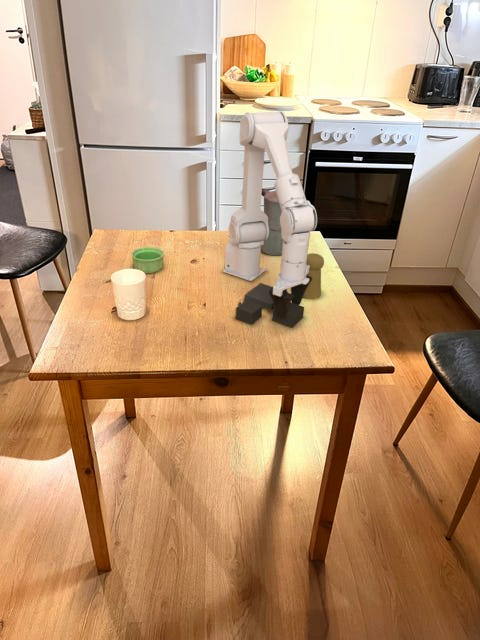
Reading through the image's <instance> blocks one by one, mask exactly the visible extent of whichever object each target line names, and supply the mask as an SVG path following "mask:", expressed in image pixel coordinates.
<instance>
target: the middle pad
mask: <svg viewBox="0 0 480 640" xmlns="http://www.w3.org/2000/svg"><path fill="white" fill-rule="evenodd" d="M304 312H305V306H303V305H301V304H300V305H297V304H294V303H292V302H290V304H289V307H288V312H287V315H286V317H285V318H284V319H283V318H280V317H278V316H277V315H276V310H275V308H274V309H273V310H272V312H271V313H272V315H271V321H272V322H273V323H277V324H280V325H283V326H286V327H288V328H290V329H293V328H294V327H295V326H296V325H298V323H300V322H301V321H302V319H303V318H304Z"/></svg>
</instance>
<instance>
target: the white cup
mask: <svg viewBox="0 0 480 640" xmlns="http://www.w3.org/2000/svg"><path fill="white" fill-rule="evenodd" d="M110 281H111V282H110V283H111V287H112V295H113V300H114V305H115V307H116V314H117V316H118V318H120V319H121V320H125V321H136V320H139V319H141V318H143V317H144V316H145V315H146V313H147V275H146V273H144V272H142V271H140V270H137V269H135V268H124V269H123V268H122V269H119V270H117V271H115V272H113V273H112V274H111V275H110Z"/></svg>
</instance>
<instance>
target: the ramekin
mask: <svg viewBox="0 0 480 640" xmlns="http://www.w3.org/2000/svg"><path fill="white" fill-rule="evenodd" d="M164 256H165V252H164V250H163V249H161V248H159V247H155V246H142V247H138V248H135V249H134V250H133V251H132V252H131V258H132V263H133V269H137V270H140V271H142V272H144V273H145V274H153V273H158V272H159V271H161V270H162V269H163V267H164V258H165V257H164Z"/></svg>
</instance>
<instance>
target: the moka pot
mask: <svg viewBox="0 0 480 640" xmlns="http://www.w3.org/2000/svg"><path fill="white" fill-rule="evenodd" d="M261 197H263V212H264V213H265V214H266V215H267V217H268V226H269V236H268V238H267V240H266V241H264V245H261V252H262V253H263V254H266V255H269V256H282V247H283V239H282V236H281V225H280V216H281V213H282V210H281V207H280V204H279V200H278V197H277V194H276V190H271V191H270V190H267V189H264V188H262V195H261Z"/></svg>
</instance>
